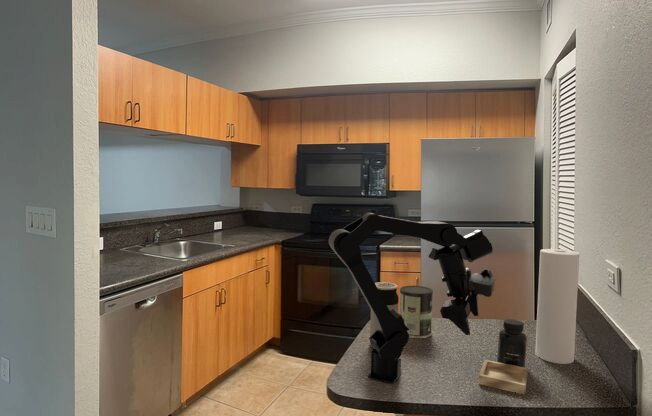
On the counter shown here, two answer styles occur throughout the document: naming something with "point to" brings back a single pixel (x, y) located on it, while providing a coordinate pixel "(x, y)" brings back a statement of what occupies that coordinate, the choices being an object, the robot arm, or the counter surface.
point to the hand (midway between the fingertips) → (472, 324)
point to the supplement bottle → (512, 343)
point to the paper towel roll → (557, 305)
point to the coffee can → (416, 310)
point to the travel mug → (389, 297)
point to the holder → (503, 376)
